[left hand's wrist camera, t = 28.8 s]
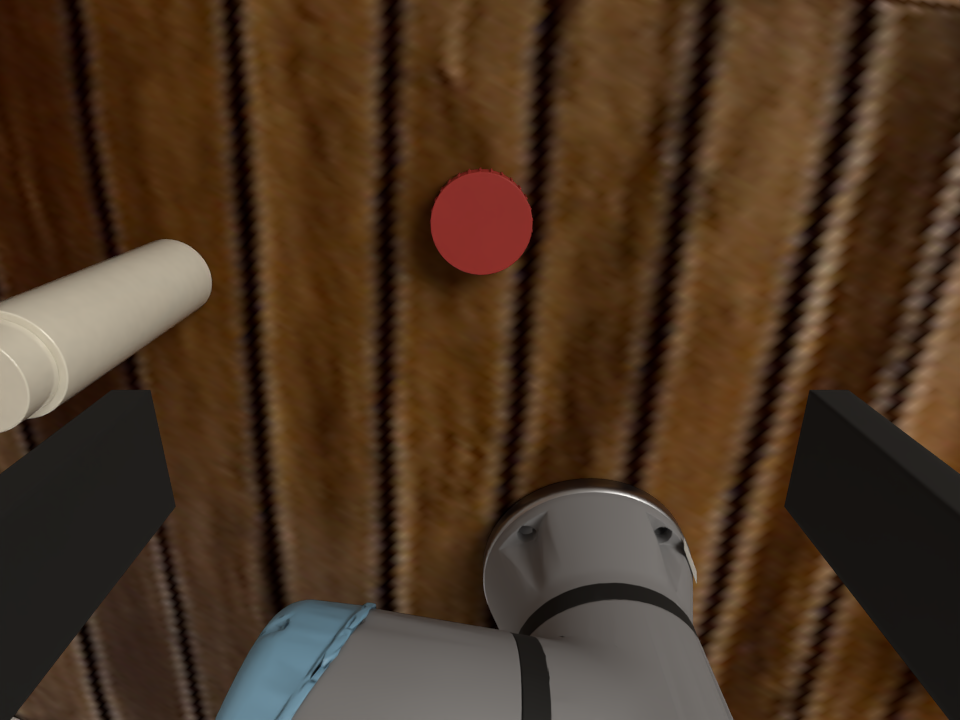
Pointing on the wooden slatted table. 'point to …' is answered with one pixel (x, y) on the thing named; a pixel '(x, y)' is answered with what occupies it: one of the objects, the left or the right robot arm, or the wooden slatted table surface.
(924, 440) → the wooden slatted table surface
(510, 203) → the lid
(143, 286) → the white cylindrical bottle
